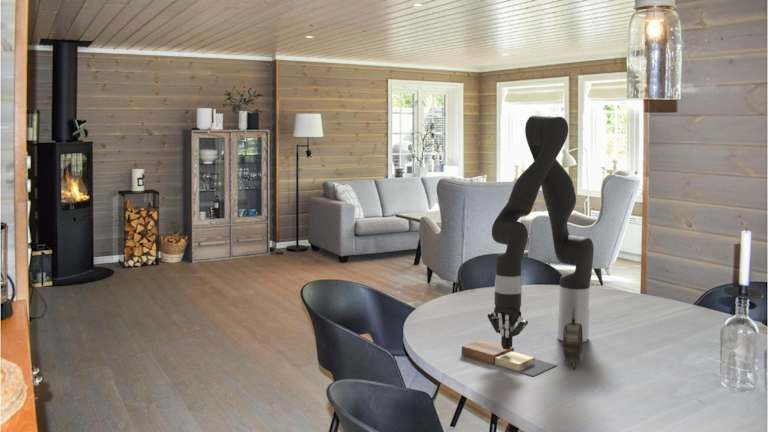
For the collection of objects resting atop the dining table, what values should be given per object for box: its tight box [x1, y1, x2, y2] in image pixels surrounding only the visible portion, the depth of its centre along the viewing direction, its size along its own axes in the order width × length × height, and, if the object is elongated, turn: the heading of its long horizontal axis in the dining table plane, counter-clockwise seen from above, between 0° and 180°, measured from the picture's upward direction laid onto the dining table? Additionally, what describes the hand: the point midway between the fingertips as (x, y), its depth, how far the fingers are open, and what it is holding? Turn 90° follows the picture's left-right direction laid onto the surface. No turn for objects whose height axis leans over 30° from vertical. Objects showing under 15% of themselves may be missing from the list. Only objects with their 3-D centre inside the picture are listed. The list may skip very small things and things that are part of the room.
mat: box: [493, 358, 558, 377], centre depth 199 cm, size 12×13×1 cm
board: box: [461, 338, 515, 366], centre depth 206 cm, size 10×12×3 cm
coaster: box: [494, 351, 536, 372], centre depth 199 cm, size 8×8×2 cm
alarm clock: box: [561, 309, 584, 370], centre depth 199 cm, size 11×5×16 cm, turn 160°
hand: (506, 348), depth 201 cm, fingers closed
